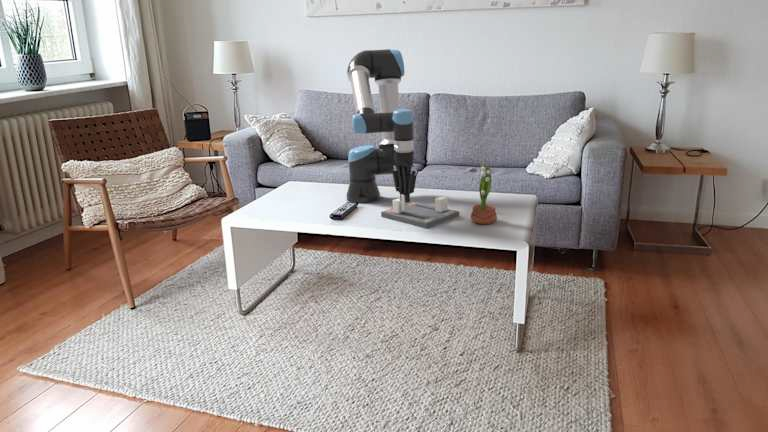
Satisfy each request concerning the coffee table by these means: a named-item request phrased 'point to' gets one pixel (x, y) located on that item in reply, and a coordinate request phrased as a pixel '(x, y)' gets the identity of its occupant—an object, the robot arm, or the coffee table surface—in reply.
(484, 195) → the potted flower
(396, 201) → the switch knob
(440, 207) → the switch knob
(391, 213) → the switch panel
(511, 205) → the coffee table surface
